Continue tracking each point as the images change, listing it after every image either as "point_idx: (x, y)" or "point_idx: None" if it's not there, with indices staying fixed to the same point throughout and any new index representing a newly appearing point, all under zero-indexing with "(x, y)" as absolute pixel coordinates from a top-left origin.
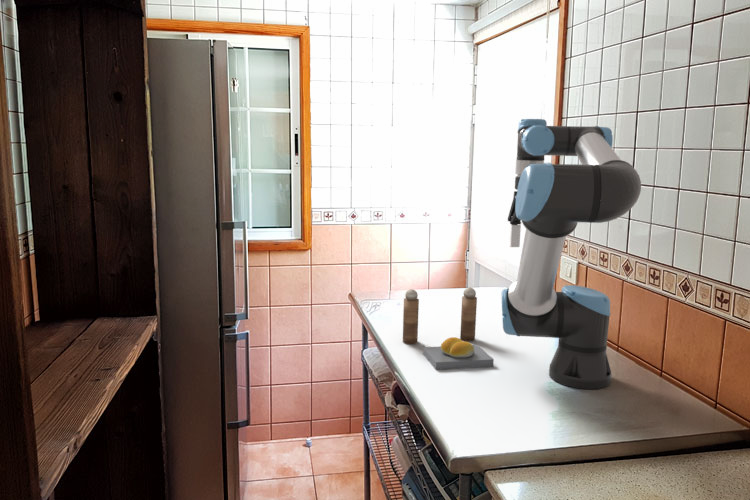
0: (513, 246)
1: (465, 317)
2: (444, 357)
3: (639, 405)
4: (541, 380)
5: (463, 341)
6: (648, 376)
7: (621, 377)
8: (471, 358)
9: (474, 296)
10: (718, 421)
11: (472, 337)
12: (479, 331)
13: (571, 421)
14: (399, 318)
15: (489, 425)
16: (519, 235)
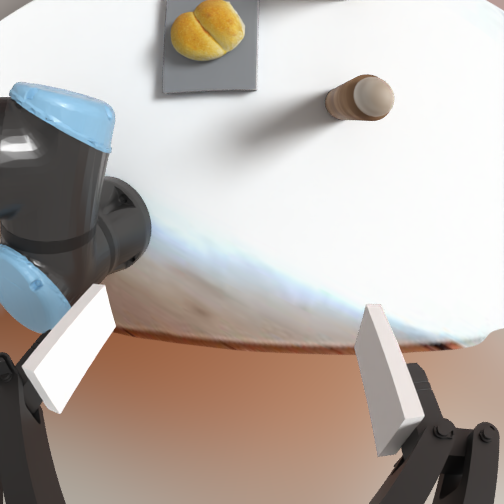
0: (364, 321)
1: (341, 85)
2: (189, 5)
3: None
4: None
5: (193, 34)
6: (121, 315)
7: (115, 282)
8: (173, 51)
9: (357, 106)
10: None
11: (327, 107)
12: (386, 156)
13: None
14: (484, 45)
15: (14, 56)
16: (367, 395)
